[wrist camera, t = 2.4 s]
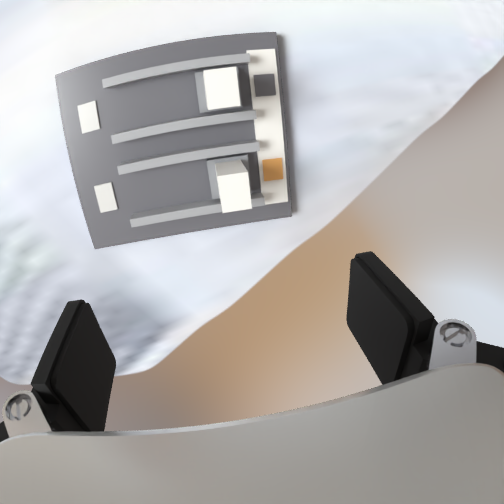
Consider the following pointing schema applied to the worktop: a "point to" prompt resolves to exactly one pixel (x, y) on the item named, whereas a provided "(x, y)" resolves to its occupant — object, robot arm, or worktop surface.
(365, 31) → the worktop surface
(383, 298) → the robot arm
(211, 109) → the switch
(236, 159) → the switch
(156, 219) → the switch unit
